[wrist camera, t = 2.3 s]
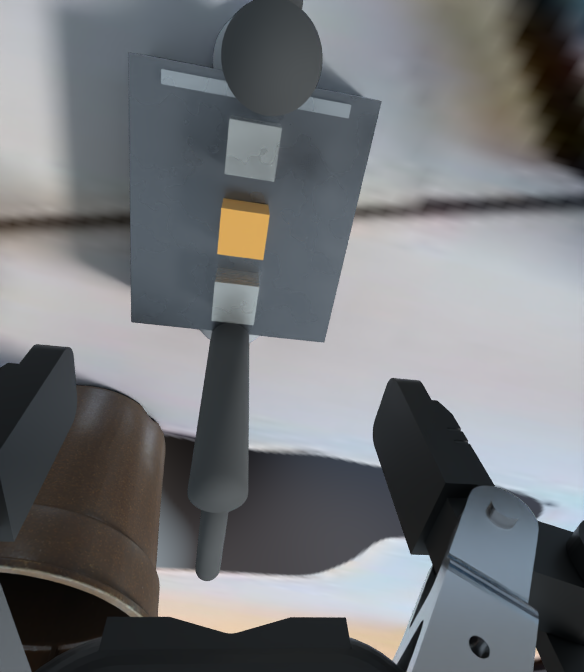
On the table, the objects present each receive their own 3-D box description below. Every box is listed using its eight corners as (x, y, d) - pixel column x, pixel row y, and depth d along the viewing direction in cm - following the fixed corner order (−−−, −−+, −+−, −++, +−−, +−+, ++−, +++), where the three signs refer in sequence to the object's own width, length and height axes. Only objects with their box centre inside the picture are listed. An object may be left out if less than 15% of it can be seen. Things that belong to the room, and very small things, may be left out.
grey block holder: (364, 97, 26) (392, 103, 20) (316, 313, 32) (328, 359, 27) (146, 55, 24) (116, 50, 19) (144, 294, 31) (123, 339, 25)
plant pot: (197, 367, 34) (160, 570, 20) (191, 509, 42) (162, 725, 28) (-36, 351, 32) (-258, 568, 18) (5, 504, 40) (-127, 736, 26)
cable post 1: (272, 282, 31) (289, 451, 17) (254, 393, 36) (257, 595, 22) (198, 273, 30) (154, 442, 16) (190, 387, 35) (151, 593, 21)
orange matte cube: (268, 204, 24) (269, 215, 22) (262, 247, 25) (263, 260, 24) (223, 198, 24) (221, 207, 22) (219, 241, 25) (217, 254, 23)
